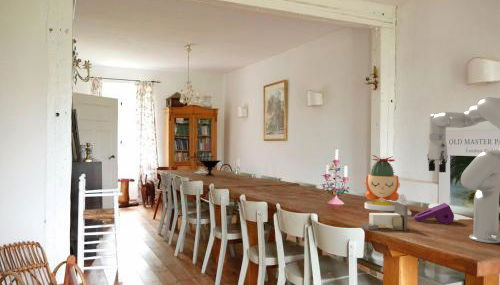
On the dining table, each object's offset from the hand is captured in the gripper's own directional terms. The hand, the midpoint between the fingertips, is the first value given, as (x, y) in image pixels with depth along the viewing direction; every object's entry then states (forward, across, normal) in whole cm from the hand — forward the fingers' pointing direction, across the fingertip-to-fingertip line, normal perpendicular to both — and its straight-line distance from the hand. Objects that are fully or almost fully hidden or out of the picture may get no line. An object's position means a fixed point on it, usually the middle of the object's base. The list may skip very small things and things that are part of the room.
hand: (436, 171), depth 198 cm
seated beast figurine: (+29, +38, -1) cm, 48 cm away
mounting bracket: (+29, +16, -7) cm, 34 cm away
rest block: (+28, -2, +35) cm, 45 cm away
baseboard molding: (+29, +34, -26) cm, 52 cm away
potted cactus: (+28, +59, +4) cm, 66 cm away
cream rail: (+26, -2, +28) cm, 38 cm away
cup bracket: (+28, -2, +23) cm, 37 cm away
